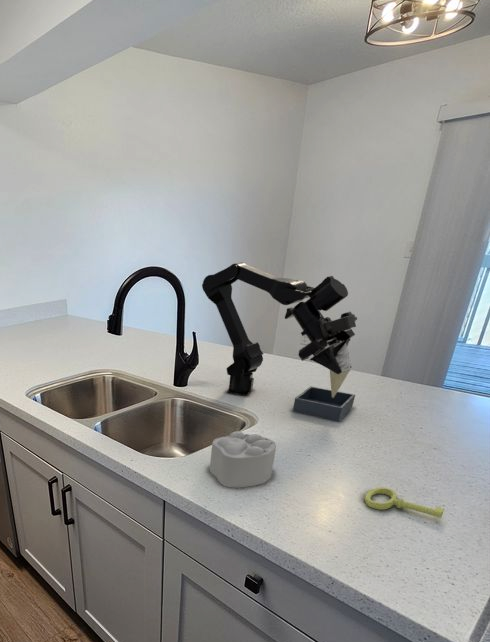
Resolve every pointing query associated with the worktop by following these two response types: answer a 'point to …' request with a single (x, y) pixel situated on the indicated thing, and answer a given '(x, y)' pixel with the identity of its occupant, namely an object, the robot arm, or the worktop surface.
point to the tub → (323, 403)
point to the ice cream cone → (345, 368)
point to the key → (398, 502)
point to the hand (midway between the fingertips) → (344, 370)
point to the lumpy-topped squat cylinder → (242, 459)
